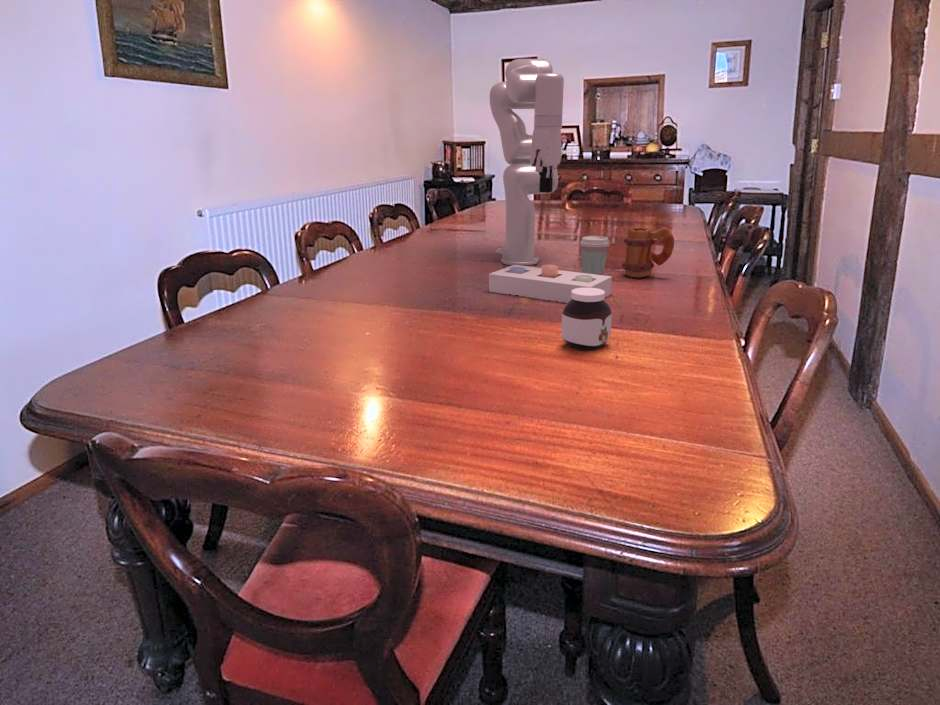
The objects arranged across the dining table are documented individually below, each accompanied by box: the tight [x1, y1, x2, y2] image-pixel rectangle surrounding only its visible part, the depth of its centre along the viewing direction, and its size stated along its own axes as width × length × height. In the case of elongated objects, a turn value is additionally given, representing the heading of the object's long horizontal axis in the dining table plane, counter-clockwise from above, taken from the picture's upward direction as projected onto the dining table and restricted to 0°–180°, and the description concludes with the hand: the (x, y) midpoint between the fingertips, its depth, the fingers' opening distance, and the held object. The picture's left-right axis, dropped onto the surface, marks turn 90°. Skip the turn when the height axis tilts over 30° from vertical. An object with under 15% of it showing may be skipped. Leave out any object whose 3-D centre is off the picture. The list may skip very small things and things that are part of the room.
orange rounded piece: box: [541, 263, 559, 278], centre depth 178 cm, size 4×4×5 cm
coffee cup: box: [579, 235, 610, 275], centre depth 194 cm, size 8×8×12 cm
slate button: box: [510, 267, 525, 274], centre depth 184 cm, size 4×4×5 cm
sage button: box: [575, 275, 592, 283], centre depth 174 cm, size 4×4×5 cm
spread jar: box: [560, 288, 613, 352], centre depth 138 cm, size 12×11×12 cm
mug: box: [621, 226, 675, 279], centre depth 194 cm, size 15×8×15 cm, turn 62°
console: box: [488, 265, 613, 304], centre depth 179 cm, size 30×14×5 cm, turn 57°
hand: (545, 192), depth 184 cm, fingers closed
